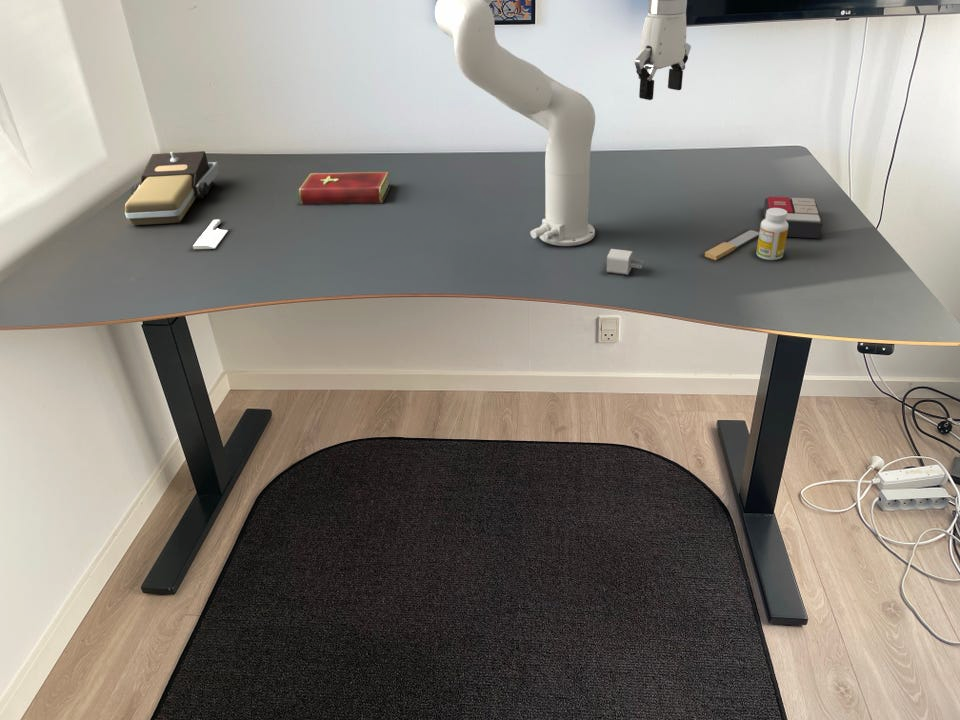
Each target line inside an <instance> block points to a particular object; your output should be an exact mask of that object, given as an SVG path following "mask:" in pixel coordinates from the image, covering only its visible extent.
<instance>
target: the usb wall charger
mask: <svg viewBox="0 0 960 720" xmlns="http://www.w3.org/2000/svg"><path fill="white" fill-rule="evenodd" d="M633 254H634V251H632V250H625V249H615V248H611V249H610V250H609V251H608V254H607V257H606V273H607V274H608V273H610V274H617V275H622V276H623V275H624V276H629V274H630V272H631V271H632V269H643V266H642V265H644V264H645V260H641V259H635V258H633Z"/></svg>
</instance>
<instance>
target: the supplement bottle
mask: <svg viewBox="0 0 960 720" xmlns="http://www.w3.org/2000/svg"><path fill="white" fill-rule="evenodd" d="M786 218H787V211H786V210H784V209H781V208H770V209H768V210H767V211H766V219H765V218H763V219H762V220H761V222H760V226H759V231H758V232H759V236H758V237H757V238H758V239H757V245H756V253H755V254H756V256H757V257H758V258H760V259H763V260H766V261H776V260H780V259H782V258H783V257H784V254H785V248H786V243H787V238H788V237H787V232H788V223H787V221H785V220H786Z"/></svg>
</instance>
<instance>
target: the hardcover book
mask: <svg viewBox="0 0 960 720" xmlns="http://www.w3.org/2000/svg"><path fill="white" fill-rule="evenodd" d="M389 174H390V172H389V171H365V172H363V171H362V172H361V171H360V172H358V171H357V172H314V173H313V172H311V173H309V175H308V176H307V177H306V179H305V180H304V181H303V182H302V184H301V186H300V187H299V188H298V197H299V202H300V204H301V205H339V204H341V205H343V204H345V205H347V204H383V202H384V201H385V198H386V197H387V194H388V193H389V190H390V188H391V184H389V177H388V176H389Z"/></svg>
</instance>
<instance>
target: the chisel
mask: <svg viewBox="0 0 960 720" xmlns="http://www.w3.org/2000/svg"><path fill="white" fill-rule="evenodd" d="M759 232H760V231H756V230H752V229H749V230H747V231H746V232H744V233H741V234H740V235H738V236H736V237H734V238H733V239H731V240H729V241H728V242H726V241H723V242H721V243H719V244H718V245H716V246H714V247H712V248H710V249H708V250H706V251H705V252H704V257H705V258H708V259H711V260H714V261H717V260H720V259H721V258H724V256H725V257H726V256H727V255H728V254H730V253H732V252H734V251H736V250H737V249H738V248H740V247H742V246H744V245H746V244H747V243H749V242H752V241H753V240H755V239H757V238H759Z"/></svg>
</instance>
